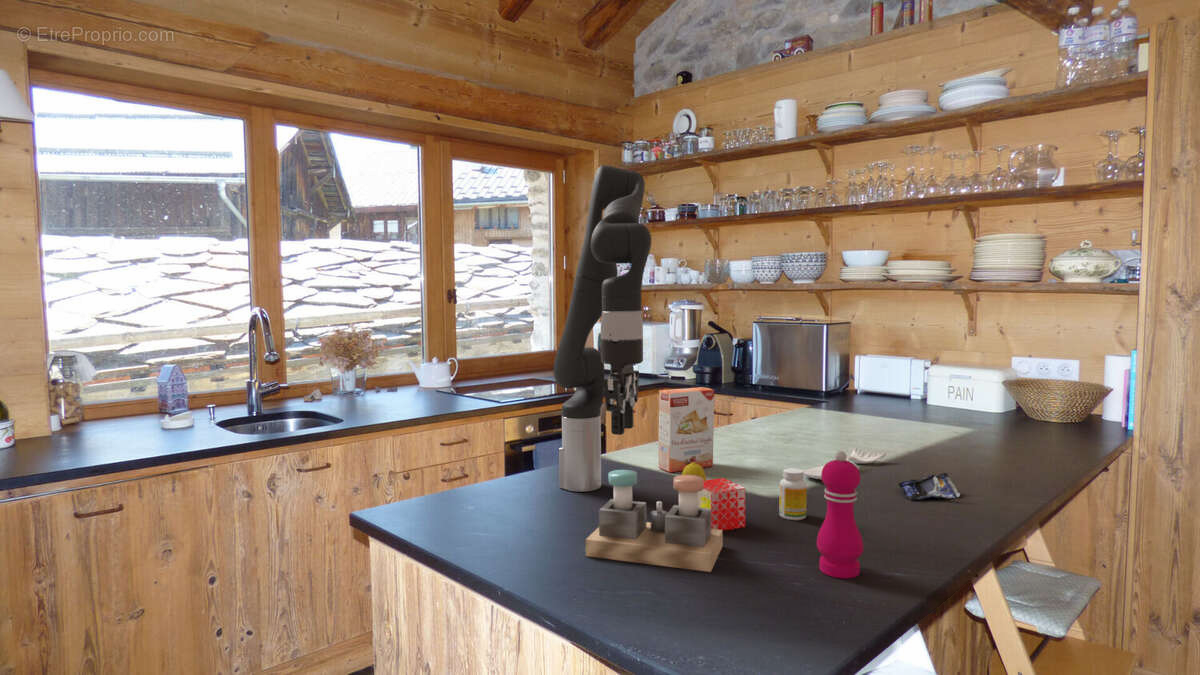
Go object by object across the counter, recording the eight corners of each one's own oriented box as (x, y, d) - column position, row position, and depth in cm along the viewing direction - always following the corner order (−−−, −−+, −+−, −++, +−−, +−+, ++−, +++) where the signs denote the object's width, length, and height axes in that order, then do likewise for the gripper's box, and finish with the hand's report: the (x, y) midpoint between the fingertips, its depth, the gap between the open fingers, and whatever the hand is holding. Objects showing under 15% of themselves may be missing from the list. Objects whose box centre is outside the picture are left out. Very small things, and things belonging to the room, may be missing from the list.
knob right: (670, 519, 117) (670, 481, 117) (677, 510, 122) (677, 473, 121) (700, 522, 115) (700, 484, 115) (705, 512, 120) (706, 476, 120)
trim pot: (648, 531, 123) (648, 503, 122) (653, 525, 126) (653, 498, 125) (665, 533, 122) (665, 505, 121) (670, 527, 125) (670, 500, 124)
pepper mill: (809, 563, 115) (810, 446, 114) (850, 561, 116) (852, 445, 114) (827, 581, 108) (828, 457, 107) (871, 579, 108) (873, 455, 107)
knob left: (604, 512, 121) (604, 476, 121) (613, 503, 126) (613, 468, 125) (632, 515, 119) (632, 478, 119) (640, 506, 124) (640, 470, 124)
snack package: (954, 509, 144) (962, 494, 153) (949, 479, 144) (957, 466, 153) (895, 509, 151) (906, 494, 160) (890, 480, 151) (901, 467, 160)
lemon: (705, 501, 150) (705, 465, 149) (680, 500, 151) (680, 464, 150) (706, 494, 155) (706, 459, 155) (682, 492, 156) (682, 458, 156)
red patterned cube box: (689, 520, 137) (689, 482, 137) (722, 515, 141) (722, 477, 140) (711, 533, 130) (711, 492, 130) (745, 527, 133) (745, 487, 133)
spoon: (887, 463, 182) (887, 451, 182) (827, 487, 161) (828, 473, 160) (855, 458, 189) (855, 445, 189) (794, 480, 167) (794, 466, 167)
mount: (585, 556, 119) (585, 513, 119) (607, 533, 130) (607, 494, 130) (710, 572, 112) (710, 526, 111) (722, 546, 123) (722, 505, 123)
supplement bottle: (773, 514, 140) (774, 469, 140) (793, 510, 143) (794, 465, 142) (791, 522, 136) (792, 475, 135) (812, 518, 138) (812, 471, 137)
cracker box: (670, 473, 173) (670, 392, 172) (657, 468, 178) (657, 389, 177) (714, 467, 179) (715, 388, 178) (701, 462, 185) (701, 385, 183)
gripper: (614, 334, 129) (615, 422, 130) (588, 338, 115) (589, 438, 116) (652, 334, 126) (653, 425, 127) (630, 339, 113) (631, 440, 114)
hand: (622, 430), depth 122 cm, fingers open, 5 cm apart
